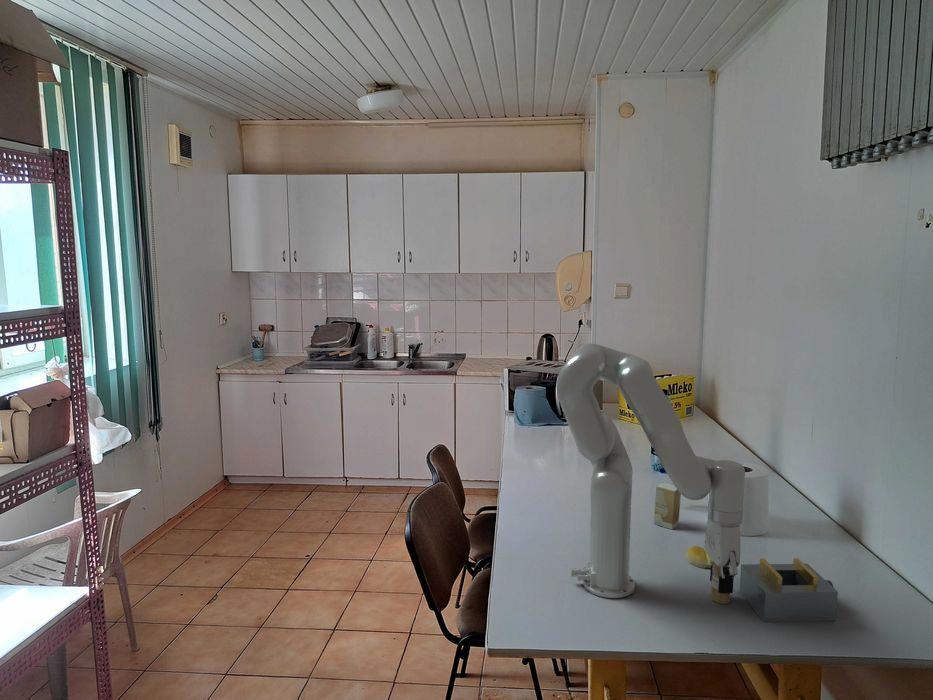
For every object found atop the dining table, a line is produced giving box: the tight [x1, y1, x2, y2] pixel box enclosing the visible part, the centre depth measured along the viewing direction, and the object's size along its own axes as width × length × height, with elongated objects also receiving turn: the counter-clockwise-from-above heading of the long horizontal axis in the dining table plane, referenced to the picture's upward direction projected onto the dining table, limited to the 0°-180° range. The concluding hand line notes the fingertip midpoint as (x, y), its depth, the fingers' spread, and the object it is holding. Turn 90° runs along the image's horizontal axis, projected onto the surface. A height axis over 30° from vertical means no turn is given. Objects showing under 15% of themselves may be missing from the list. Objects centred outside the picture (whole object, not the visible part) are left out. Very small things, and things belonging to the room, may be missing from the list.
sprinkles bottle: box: [710, 561, 731, 604], centre depth 155 cm, size 5×5×14 cm
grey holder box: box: [739, 557, 839, 623], centre depth 152 cm, size 18×13×10 cm
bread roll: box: [685, 545, 713, 569], centre depth 174 cm, size 8×9×4 cm
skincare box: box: [653, 482, 682, 530], centre depth 196 cm, size 6×4×12 cm
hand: (721, 586), depth 155 cm, fingers closed on sprinkles bottle, 4 cm apart
